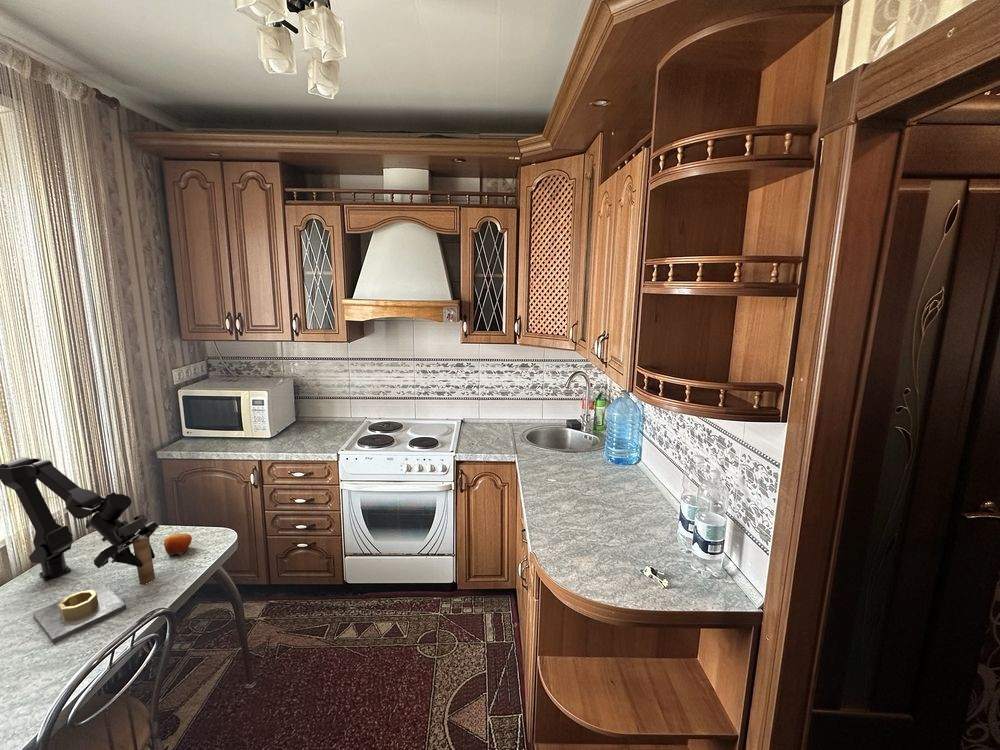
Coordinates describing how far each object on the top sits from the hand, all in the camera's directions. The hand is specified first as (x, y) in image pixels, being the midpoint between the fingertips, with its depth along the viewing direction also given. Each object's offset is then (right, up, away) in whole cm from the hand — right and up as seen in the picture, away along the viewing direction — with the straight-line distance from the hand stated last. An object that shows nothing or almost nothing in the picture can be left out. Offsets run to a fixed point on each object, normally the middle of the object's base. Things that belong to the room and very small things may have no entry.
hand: (148, 562), depth 149 cm
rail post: (-1, -6, +1) cm, 7 cm away
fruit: (-2, -3, +17) cm, 18 cm away
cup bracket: (-10, -9, -13) cm, 19 cm away
